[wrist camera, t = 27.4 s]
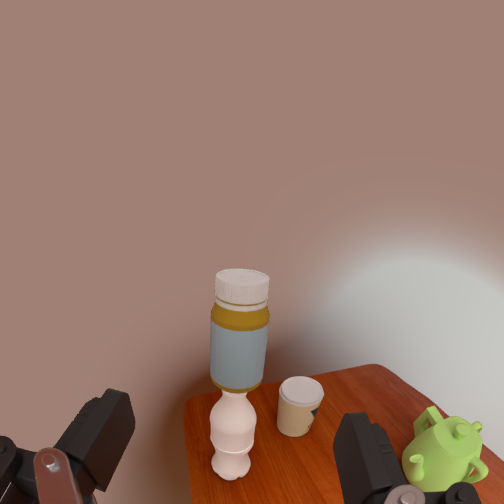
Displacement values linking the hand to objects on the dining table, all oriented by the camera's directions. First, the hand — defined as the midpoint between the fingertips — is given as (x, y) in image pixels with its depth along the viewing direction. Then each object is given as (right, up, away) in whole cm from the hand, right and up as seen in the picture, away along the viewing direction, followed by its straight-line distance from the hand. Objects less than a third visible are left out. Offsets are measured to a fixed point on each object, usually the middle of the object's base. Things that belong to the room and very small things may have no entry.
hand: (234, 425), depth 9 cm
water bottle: (-3, -36, +32) cm, 48 cm away
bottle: (-2, -11, +27) cm, 29 cm away
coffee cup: (+10, -34, +46) cm, 58 cm away
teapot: (+37, -40, +26) cm, 60 cm away
